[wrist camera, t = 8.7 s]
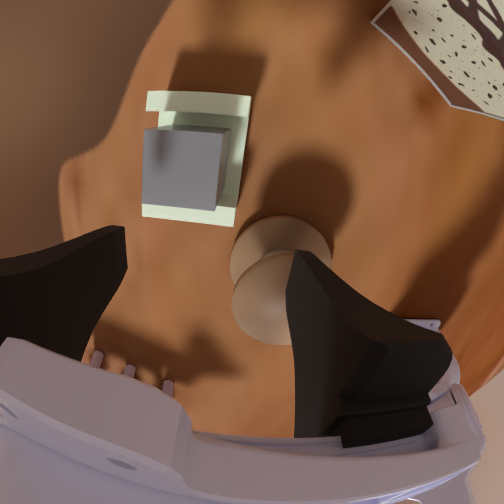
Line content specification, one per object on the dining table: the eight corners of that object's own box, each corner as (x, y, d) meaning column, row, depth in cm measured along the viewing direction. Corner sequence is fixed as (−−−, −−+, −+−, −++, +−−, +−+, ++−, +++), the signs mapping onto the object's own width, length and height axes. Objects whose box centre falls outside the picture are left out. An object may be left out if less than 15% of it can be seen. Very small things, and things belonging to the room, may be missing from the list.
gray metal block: (231, 128, 17) (223, 134, 12) (224, 186, 18) (214, 211, 14) (172, 124, 16) (144, 129, 12) (168, 180, 18) (142, 203, 14)
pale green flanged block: (251, 99, 16) (251, 96, 13) (236, 208, 20) (233, 226, 17) (165, 94, 16) (147, 91, 13) (158, 199, 20) (142, 216, 17)
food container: (485, 79, 13) (566, 89, 5) (459, 119, 16) (548, 143, 7) (389, -25, 10) (454, -71, 1) (353, 10, 13) (420, -44, 4)
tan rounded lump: (339, 223, 21) (364, 261, 16) (314, 304, 24) (326, 351, 19) (236, 208, 20) (230, 243, 15) (226, 295, 24) (219, 343, 19)
